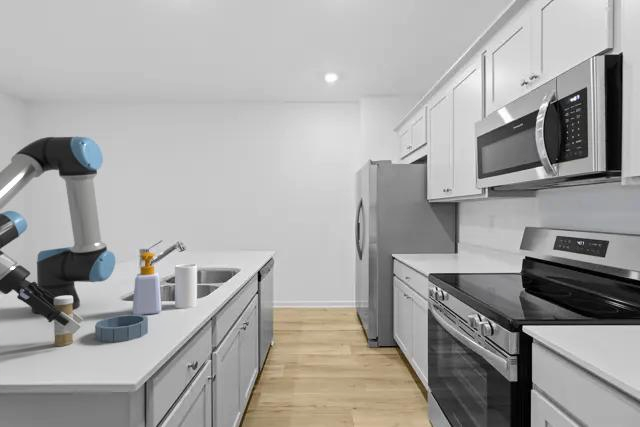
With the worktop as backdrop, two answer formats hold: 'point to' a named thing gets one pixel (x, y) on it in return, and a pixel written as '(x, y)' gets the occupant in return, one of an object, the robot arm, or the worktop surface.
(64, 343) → the sprinkles bottle
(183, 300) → the cup
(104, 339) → the bowl
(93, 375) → the worktop surface
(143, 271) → the soap bottle
